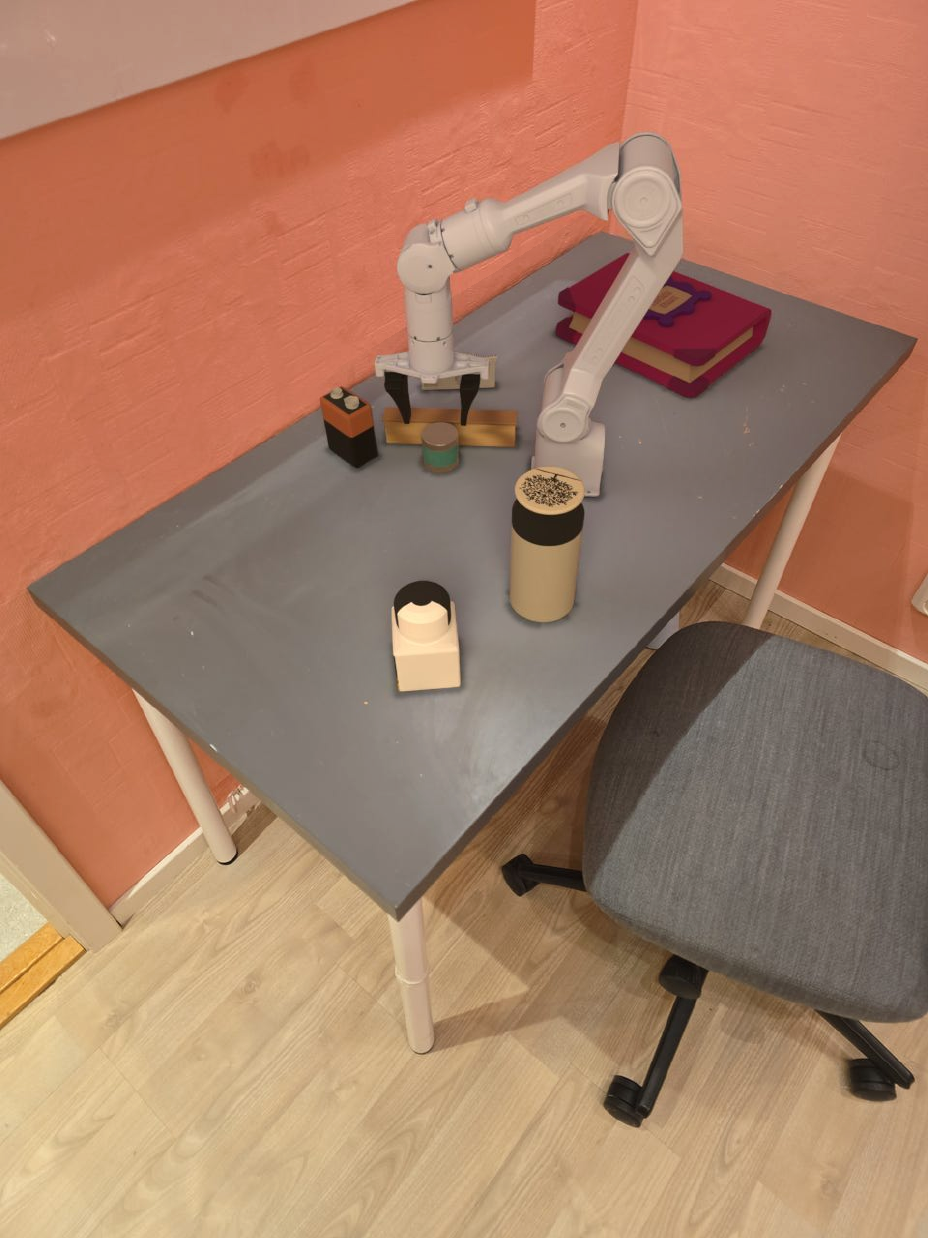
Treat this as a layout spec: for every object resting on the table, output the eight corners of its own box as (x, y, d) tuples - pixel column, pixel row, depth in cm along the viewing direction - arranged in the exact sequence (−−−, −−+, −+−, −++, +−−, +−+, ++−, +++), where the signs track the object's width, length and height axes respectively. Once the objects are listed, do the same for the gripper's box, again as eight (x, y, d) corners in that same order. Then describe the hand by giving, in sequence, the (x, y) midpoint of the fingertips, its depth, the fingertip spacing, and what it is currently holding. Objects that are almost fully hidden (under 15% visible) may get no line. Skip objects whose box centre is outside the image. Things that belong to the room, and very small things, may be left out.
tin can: (460, 450, 123) (459, 422, 119) (457, 473, 119) (456, 445, 116) (425, 449, 123) (423, 421, 119) (421, 472, 120) (419, 444, 116)
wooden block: (517, 428, 126) (518, 404, 122) (516, 448, 123) (516, 423, 119) (389, 425, 127) (386, 400, 124) (384, 444, 124) (381, 419, 121)
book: (627, 286, 151) (632, 244, 146) (764, 343, 139) (776, 300, 133) (551, 334, 142) (554, 291, 136) (691, 400, 129) (701, 356, 123)
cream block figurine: (396, 643, 100) (386, 575, 91) (456, 639, 100) (452, 569, 91) (398, 693, 95) (388, 625, 86) (461, 687, 95) (458, 620, 86)
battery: (356, 470, 120) (347, 412, 113) (327, 449, 124) (316, 391, 116) (379, 456, 122) (372, 398, 115) (350, 436, 125) (341, 378, 118)
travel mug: (555, 633, 100) (565, 523, 86) (497, 607, 103) (498, 497, 89) (585, 590, 104) (599, 479, 91) (529, 567, 107) (535, 455, 94)
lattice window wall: (420, 391, 132) (418, 358, 128) (420, 385, 133) (418, 352, 129) (496, 388, 132) (496, 355, 128) (496, 382, 133) (496, 349, 129)
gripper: (366, 346, 101) (378, 437, 112) (486, 348, 100) (487, 440, 111) (375, 314, 106) (385, 405, 116) (490, 317, 105) (490, 408, 115)
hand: (435, 420), depth 114 cm, fingers open, 7 cm apart
